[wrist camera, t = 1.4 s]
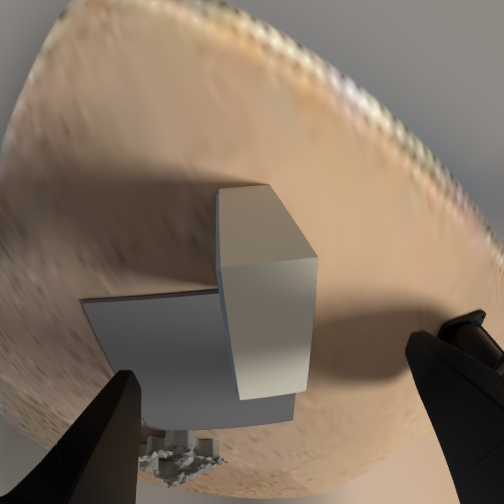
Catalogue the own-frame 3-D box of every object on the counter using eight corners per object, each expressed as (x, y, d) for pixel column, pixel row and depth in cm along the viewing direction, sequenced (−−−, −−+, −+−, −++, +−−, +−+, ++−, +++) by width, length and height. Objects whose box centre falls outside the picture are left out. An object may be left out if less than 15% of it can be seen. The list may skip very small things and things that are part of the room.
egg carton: (169, 462, 29) (168, 489, 26) (121, 441, 26) (117, 470, 23) (231, 443, 27) (234, 475, 24) (180, 419, 24) (179, 456, 20)
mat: (300, 280, 18) (302, 284, 17) (291, 417, 25) (292, 420, 25) (83, 299, 17) (81, 303, 16) (150, 426, 24) (150, 430, 24)
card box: (269, 184, 15) (318, 257, 8) (272, 283, 18) (305, 391, 11) (215, 189, 15) (214, 268, 8) (227, 288, 17) (236, 400, 10)
